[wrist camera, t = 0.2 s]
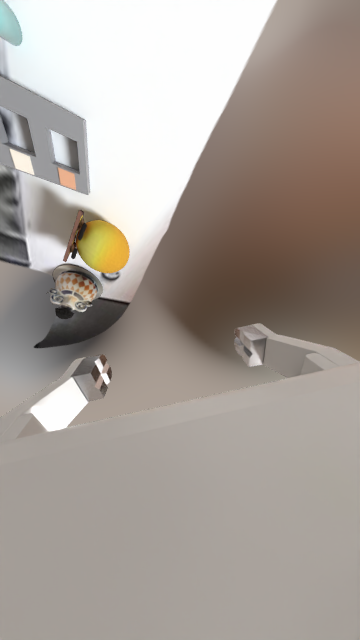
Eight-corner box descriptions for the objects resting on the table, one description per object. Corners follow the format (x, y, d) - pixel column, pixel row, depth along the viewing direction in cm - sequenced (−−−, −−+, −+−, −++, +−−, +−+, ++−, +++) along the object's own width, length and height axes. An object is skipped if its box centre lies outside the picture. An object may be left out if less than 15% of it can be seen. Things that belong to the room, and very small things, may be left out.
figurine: (49, 287, 62) (26, 322, 50) (59, 253, 54) (34, 284, 41) (95, 304, 73) (85, 336, 60) (109, 277, 64) (102, 308, 51)
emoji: (88, 196, 42) (75, 214, 33) (137, 232, 52) (139, 254, 43) (72, 242, 51) (59, 266, 42) (118, 265, 60) (115, 290, 51)
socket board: (-27, 60, 26) (-41, 55, 24) (85, 120, 33) (82, 119, 31) (7, 162, 35) (-1, 164, 33) (90, 192, 42) (87, 195, 40)
